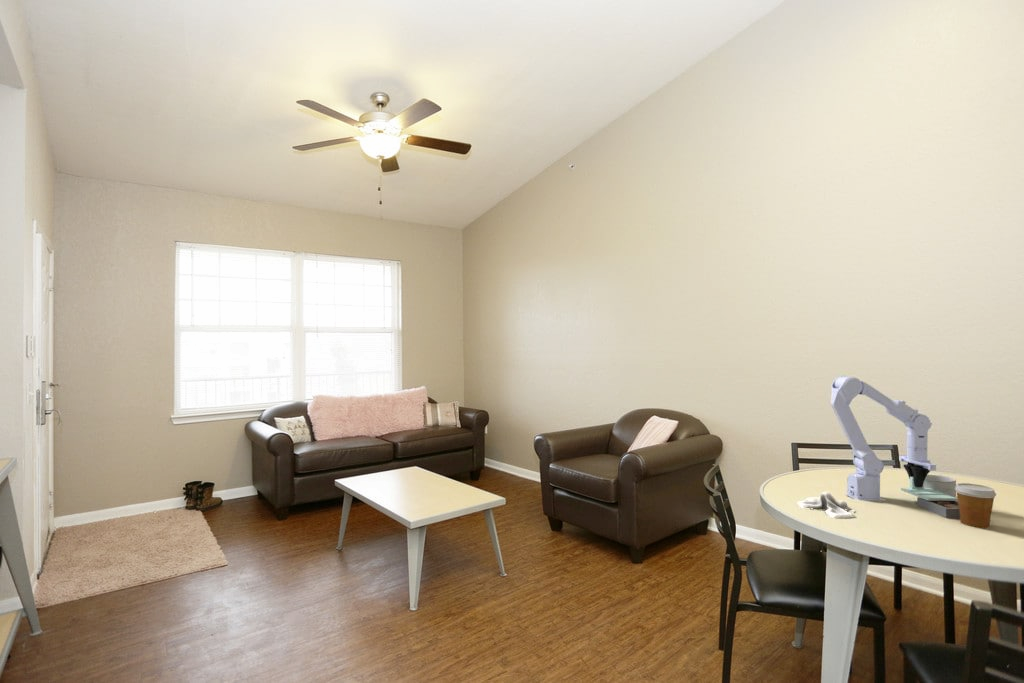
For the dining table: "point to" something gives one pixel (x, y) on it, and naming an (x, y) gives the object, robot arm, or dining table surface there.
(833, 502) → the cloth
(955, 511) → the tub
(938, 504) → the walnut block
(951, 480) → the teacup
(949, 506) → the walnut block
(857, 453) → the robot arm
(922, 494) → the lid
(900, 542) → the dining table surface
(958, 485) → the disposable coffee cup
